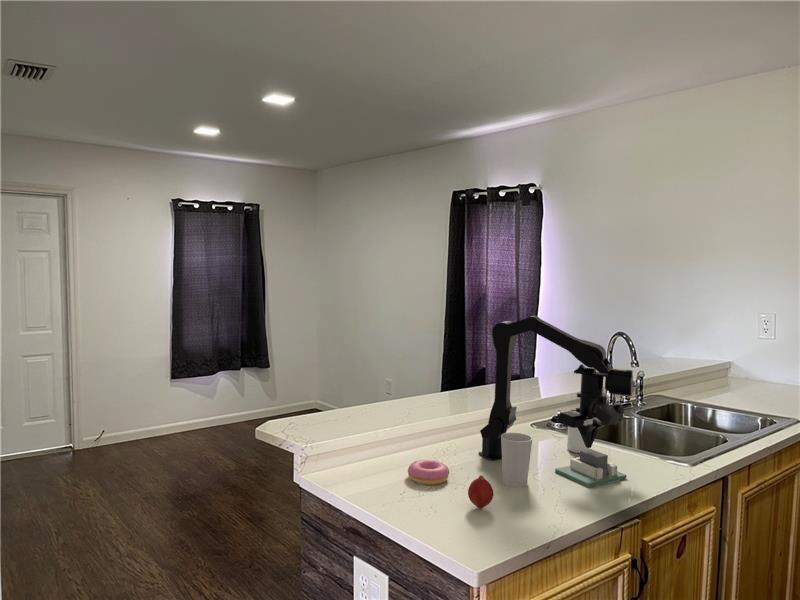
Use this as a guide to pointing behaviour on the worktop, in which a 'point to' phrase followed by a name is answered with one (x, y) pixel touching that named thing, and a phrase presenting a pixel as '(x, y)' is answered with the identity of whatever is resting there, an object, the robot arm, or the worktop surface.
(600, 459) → the plug
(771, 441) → the worktop surface
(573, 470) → the board
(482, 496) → the onion
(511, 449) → the cup
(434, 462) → the doughnut
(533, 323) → the robot arm
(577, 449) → the can
